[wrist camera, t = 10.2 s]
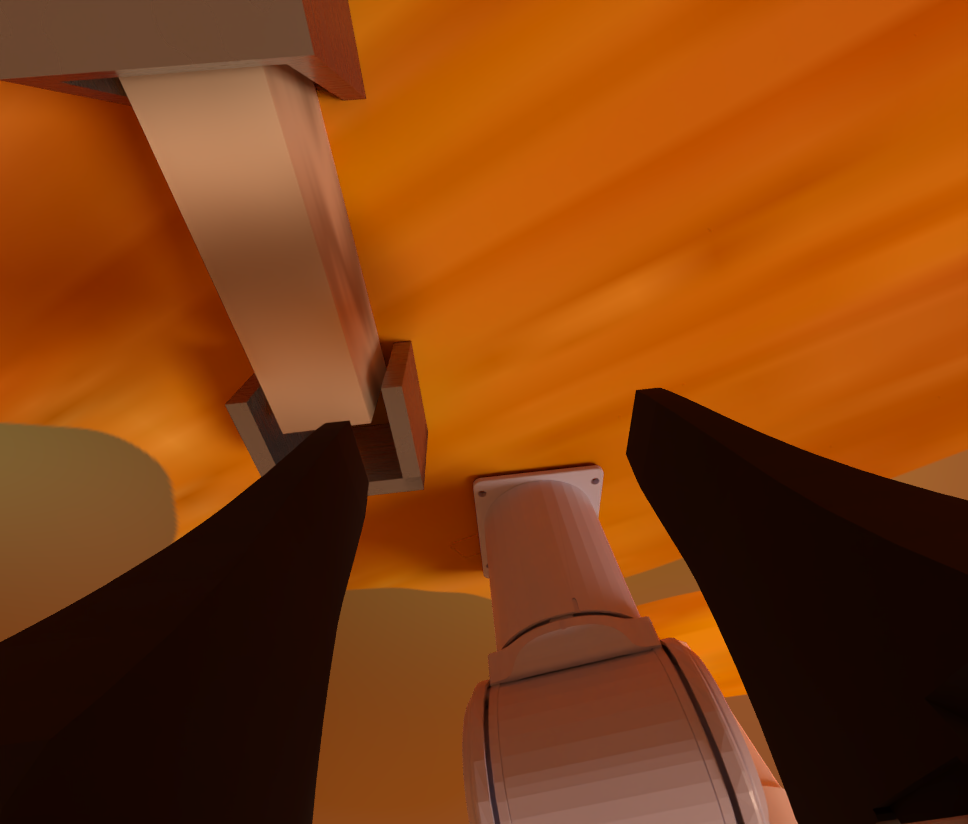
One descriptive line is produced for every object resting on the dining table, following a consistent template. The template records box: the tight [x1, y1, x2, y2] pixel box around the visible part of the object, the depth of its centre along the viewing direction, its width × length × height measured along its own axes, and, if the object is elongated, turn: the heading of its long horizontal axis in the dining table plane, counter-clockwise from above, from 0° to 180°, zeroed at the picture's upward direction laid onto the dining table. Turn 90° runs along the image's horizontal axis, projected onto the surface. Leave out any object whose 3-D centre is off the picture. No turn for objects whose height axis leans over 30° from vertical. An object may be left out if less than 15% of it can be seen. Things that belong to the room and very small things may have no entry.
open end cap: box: [225, 341, 428, 496], centre depth 18 cm, size 5×7×5 cm
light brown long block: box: [119, 64, 387, 434], centre depth 14 cm, size 12×4×5 cm, turn 5°
